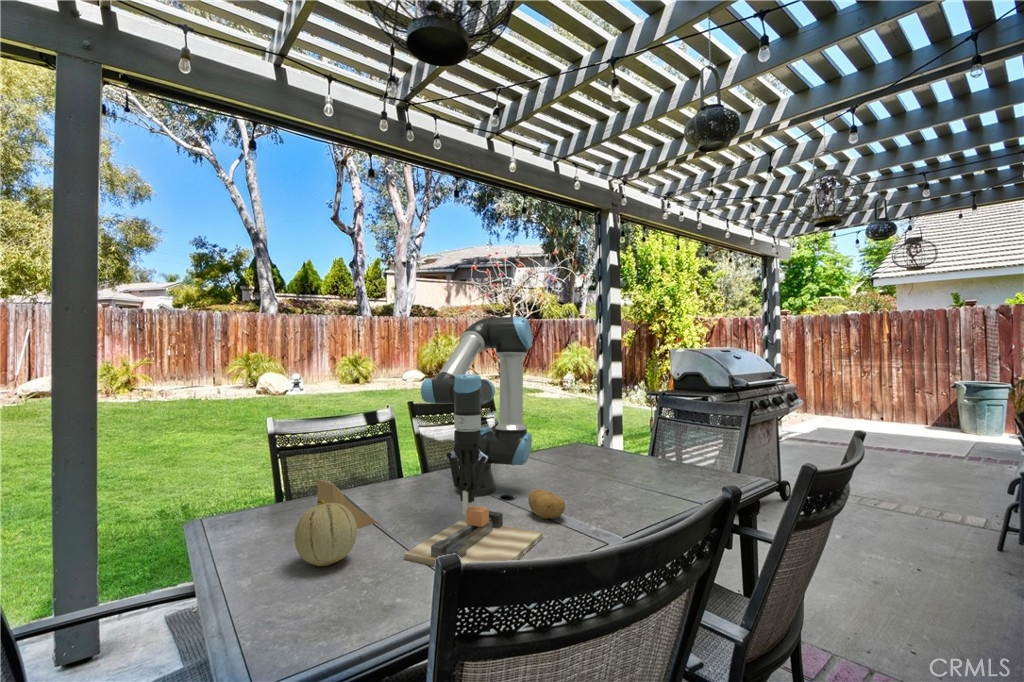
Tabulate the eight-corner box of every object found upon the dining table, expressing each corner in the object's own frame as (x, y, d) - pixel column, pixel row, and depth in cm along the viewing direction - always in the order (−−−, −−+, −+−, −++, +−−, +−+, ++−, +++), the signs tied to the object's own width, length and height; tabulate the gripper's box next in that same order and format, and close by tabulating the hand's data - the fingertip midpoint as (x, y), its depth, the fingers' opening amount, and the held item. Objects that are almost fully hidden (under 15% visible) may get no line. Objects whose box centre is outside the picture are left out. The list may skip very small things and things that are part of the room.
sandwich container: (378, 522, 150) (379, 473, 150) (332, 537, 138) (333, 484, 138) (362, 516, 155) (362, 469, 156) (316, 530, 143) (317, 478, 144)
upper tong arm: (486, 526, 141) (486, 516, 141) (499, 528, 140) (499, 518, 140) (442, 558, 120) (442, 546, 120) (457, 561, 118) (457, 548, 118)
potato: (549, 527, 145) (549, 500, 145) (521, 514, 157) (521, 489, 157) (573, 520, 151) (573, 494, 151) (544, 508, 162) (544, 484, 162)
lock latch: (473, 519, 140) (473, 505, 140) (488, 522, 138) (488, 508, 138) (466, 524, 136) (466, 509, 136) (481, 527, 134) (481, 512, 134)
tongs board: (462, 523, 148) (462, 506, 148) (542, 537, 137) (542, 519, 137) (404, 559, 123) (404, 538, 123) (496, 580, 112) (496, 557, 112)
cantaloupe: (329, 581, 112) (330, 514, 112) (279, 571, 117) (280, 507, 117) (369, 555, 125) (370, 496, 126) (323, 547, 131) (324, 490, 131)
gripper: (440, 429, 138) (440, 513, 138) (481, 433, 133) (480, 520, 132) (455, 425, 145) (455, 506, 145) (494, 429, 139) (494, 512, 139)
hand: (467, 513), depth 138 cm, fingers closed
